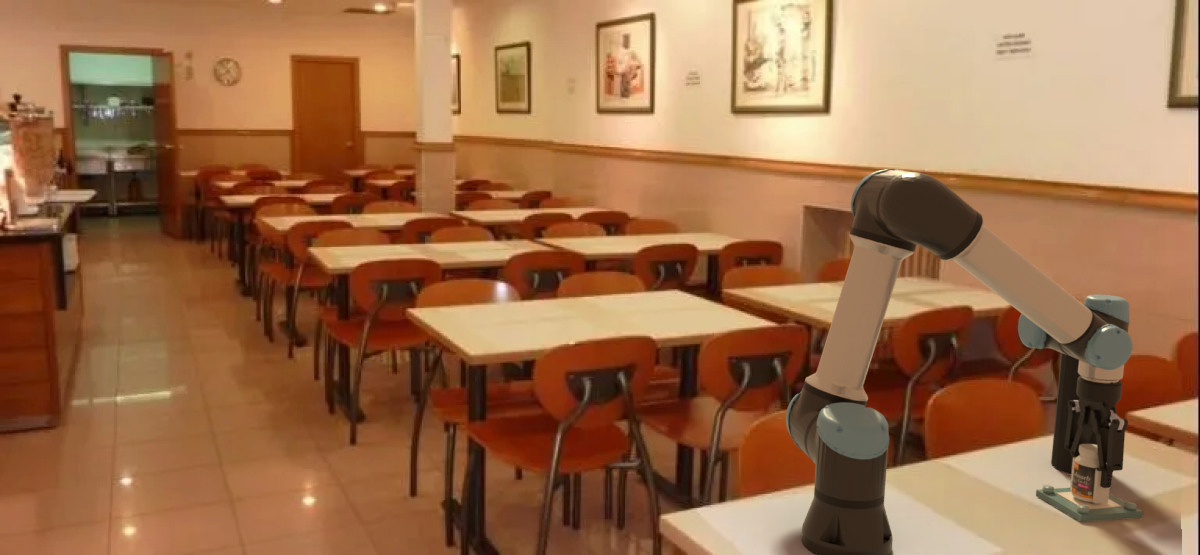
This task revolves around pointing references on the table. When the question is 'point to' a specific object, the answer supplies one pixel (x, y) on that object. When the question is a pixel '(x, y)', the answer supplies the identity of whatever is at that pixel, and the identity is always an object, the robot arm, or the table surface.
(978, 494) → the table surface
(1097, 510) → the plate
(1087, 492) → the pill bottle
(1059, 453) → the vase
